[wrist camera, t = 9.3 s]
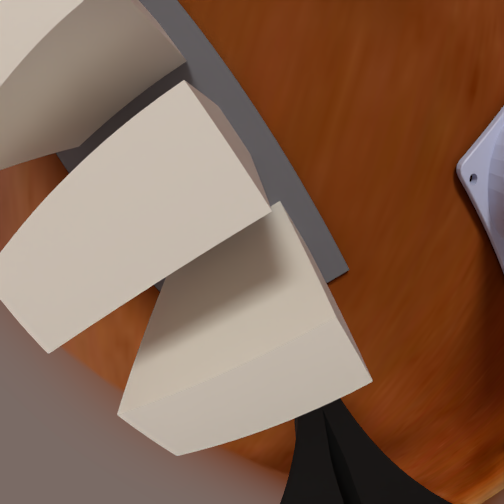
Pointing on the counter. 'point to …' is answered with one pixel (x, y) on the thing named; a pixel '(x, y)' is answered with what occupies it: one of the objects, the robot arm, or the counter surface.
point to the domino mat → (241, 119)
